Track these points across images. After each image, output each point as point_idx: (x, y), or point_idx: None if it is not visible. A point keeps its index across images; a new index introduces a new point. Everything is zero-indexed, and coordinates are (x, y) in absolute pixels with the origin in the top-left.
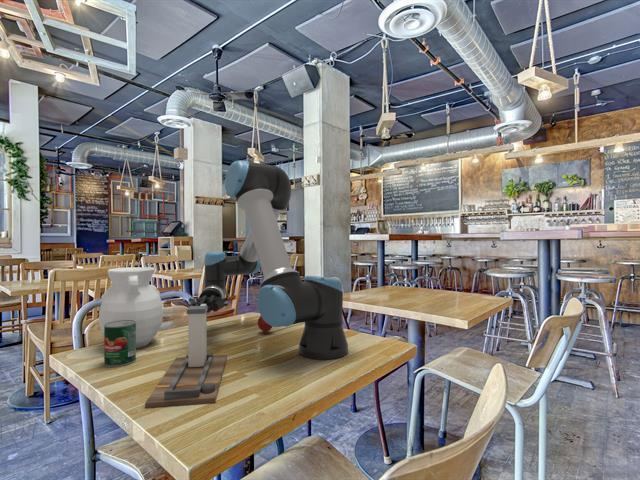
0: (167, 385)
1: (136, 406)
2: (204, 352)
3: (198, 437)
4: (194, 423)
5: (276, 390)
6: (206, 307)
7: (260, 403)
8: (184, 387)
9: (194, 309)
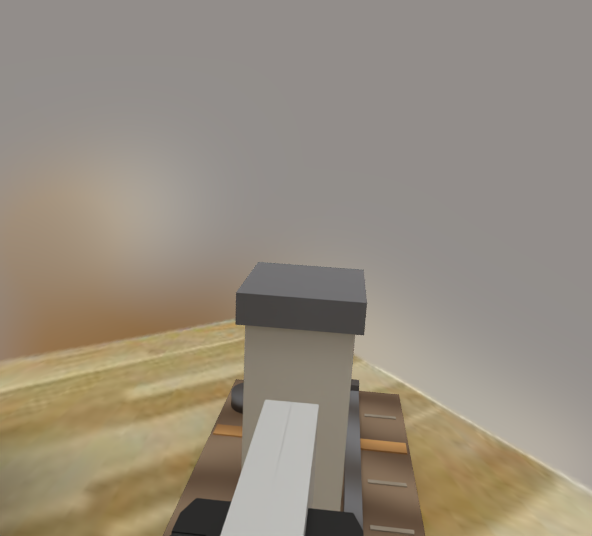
0: (374, 446)
1: (422, 414)
2: None
3: None
4: None
5: (67, 398)
6: (248, 277)
7: (139, 371)
8: None
9: (319, 267)
